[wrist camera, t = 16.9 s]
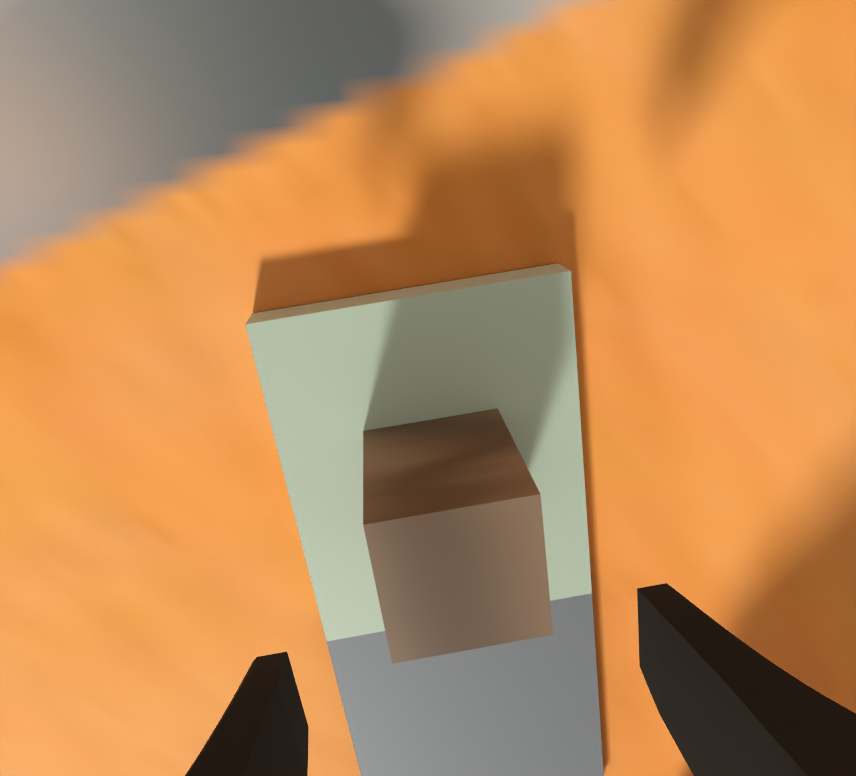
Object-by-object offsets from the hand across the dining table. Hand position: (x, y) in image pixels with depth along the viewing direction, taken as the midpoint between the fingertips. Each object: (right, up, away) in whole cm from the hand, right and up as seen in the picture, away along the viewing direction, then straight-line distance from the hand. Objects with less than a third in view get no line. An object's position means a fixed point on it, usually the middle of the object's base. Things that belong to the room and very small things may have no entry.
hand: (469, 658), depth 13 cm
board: (0, -2, +10) cm, 10 cm away
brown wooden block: (0, +3, +7) cm, 7 cm away
